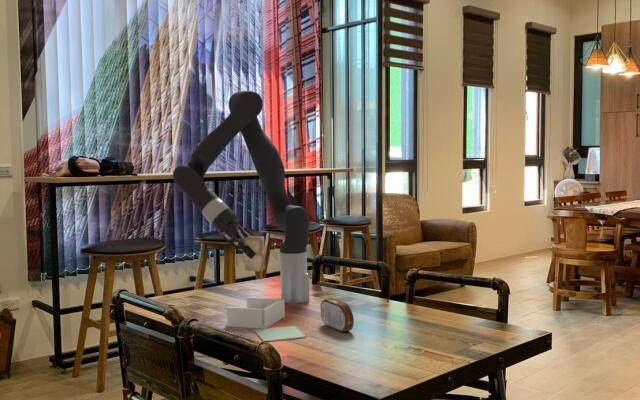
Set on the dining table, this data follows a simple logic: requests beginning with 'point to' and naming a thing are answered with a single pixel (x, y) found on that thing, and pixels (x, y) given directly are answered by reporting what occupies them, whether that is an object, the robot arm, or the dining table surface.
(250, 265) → the maple block
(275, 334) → the sage mat
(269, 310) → the box
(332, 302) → the tin
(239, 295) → the dining table surface
